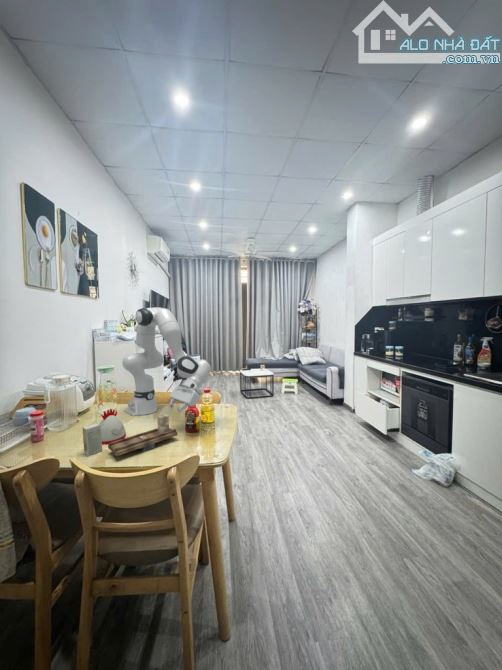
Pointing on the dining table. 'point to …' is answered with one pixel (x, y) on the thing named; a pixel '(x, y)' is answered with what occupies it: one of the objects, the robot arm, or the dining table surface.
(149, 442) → the balance beam
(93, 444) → the skincare box
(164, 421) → the rider block
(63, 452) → the dining table surface
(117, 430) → the grey crested helmet
